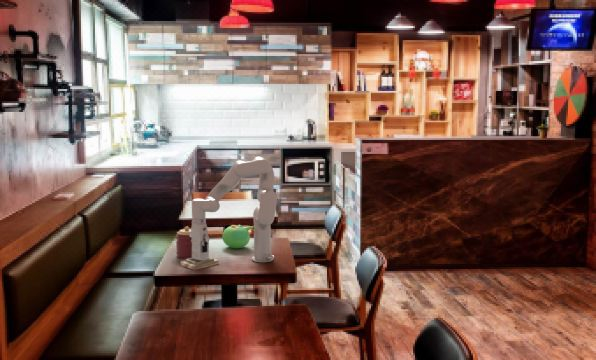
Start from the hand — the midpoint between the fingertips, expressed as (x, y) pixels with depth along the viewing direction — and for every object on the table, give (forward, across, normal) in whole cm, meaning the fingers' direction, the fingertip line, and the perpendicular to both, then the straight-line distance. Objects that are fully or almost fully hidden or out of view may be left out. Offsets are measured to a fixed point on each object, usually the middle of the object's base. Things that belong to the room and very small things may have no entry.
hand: (199, 250), depth 361 cm
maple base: (+8, 0, 0) cm, 8 cm away
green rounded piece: (+8, +13, -38) cm, 41 cm away
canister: (+8, +20, -6) cm, 22 cm away
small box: (+5, 0, 0) cm, 5 cm away
